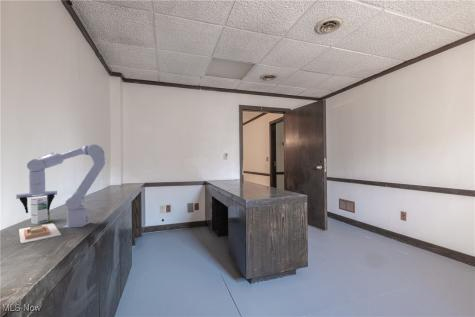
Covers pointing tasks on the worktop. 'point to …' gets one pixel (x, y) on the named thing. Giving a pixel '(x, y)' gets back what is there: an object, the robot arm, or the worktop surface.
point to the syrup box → (39, 210)
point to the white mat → (53, 233)
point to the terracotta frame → (36, 233)
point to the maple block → (36, 229)
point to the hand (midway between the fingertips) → (37, 211)
